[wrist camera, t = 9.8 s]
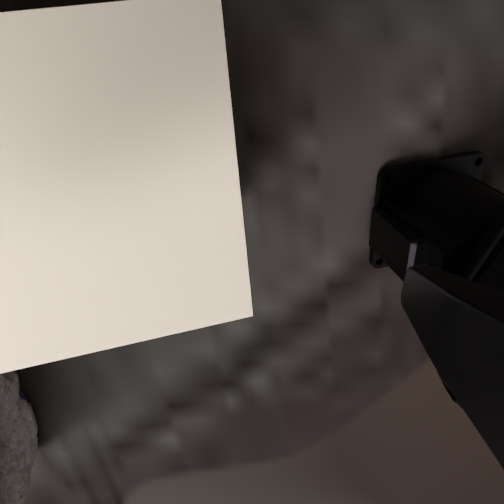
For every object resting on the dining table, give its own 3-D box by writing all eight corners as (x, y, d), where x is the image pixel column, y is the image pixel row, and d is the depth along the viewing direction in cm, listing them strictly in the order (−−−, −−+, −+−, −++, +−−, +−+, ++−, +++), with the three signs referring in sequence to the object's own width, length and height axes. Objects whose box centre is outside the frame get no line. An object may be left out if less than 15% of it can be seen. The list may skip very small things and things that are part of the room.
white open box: (183, -8, 16) (220, -9, 9) (216, 217, 21) (253, 315, 15) (-81, 17, 14) (-256, 37, 8) (26, 252, 20) (-25, 379, 13)
